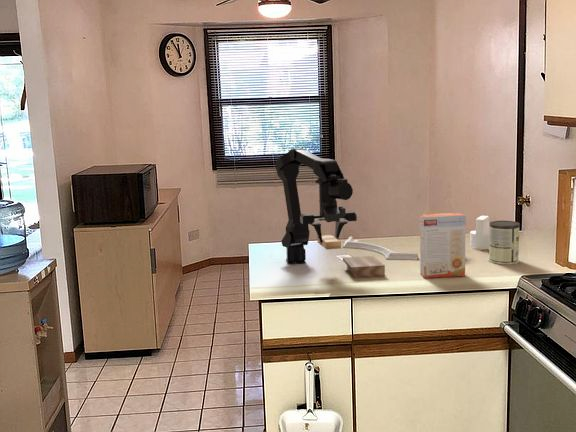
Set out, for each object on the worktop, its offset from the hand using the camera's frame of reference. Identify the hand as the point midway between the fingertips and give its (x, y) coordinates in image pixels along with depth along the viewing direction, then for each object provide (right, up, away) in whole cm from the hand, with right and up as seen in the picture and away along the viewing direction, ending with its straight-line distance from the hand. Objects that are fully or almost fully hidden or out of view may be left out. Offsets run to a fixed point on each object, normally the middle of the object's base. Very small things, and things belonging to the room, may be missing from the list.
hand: (328, 242), depth 211 cm
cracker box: (+38, -11, -4) cm, 40 cm away
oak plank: (0, -1, 0) cm, 1 cm away
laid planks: (+13, -11, +3) cm, 17 cm away
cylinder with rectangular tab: (+64, -4, +34) cm, 72 cm away
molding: (+23, -5, +34) cm, 42 cm away
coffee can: (+64, -8, +12) cm, 66 cm away
